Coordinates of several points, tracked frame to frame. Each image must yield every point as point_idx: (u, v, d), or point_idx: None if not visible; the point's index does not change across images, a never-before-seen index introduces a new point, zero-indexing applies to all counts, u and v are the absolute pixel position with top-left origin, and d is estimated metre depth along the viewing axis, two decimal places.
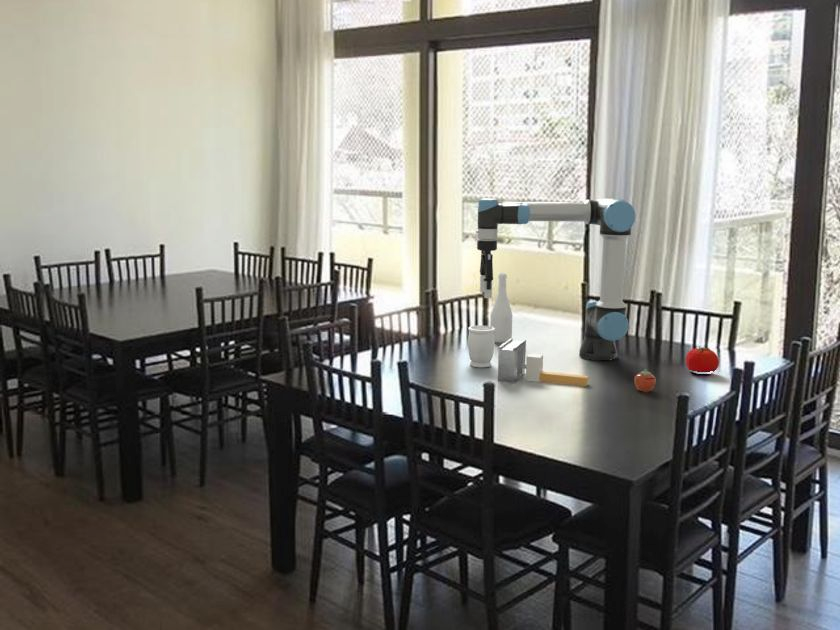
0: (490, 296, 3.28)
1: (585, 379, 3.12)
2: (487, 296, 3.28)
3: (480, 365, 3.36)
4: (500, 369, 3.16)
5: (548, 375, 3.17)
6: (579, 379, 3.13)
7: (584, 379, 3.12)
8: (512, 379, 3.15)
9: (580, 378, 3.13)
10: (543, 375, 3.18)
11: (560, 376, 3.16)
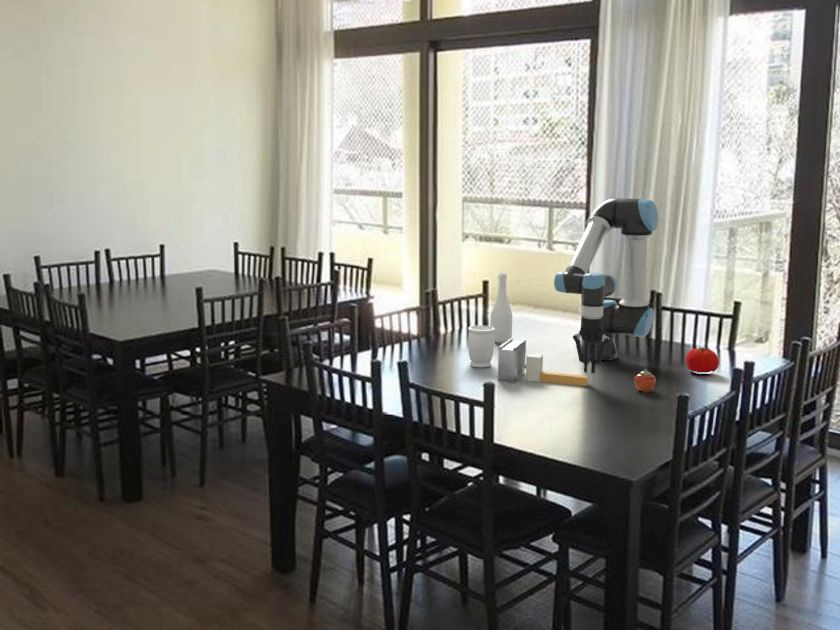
0: None
1: (585, 379, 3.12)
2: None
3: (480, 365, 3.36)
4: (500, 369, 3.16)
5: (548, 375, 3.17)
6: (579, 379, 3.13)
7: (584, 379, 3.12)
8: (512, 379, 3.15)
9: (580, 378, 3.13)
10: (543, 375, 3.18)
11: (560, 376, 3.16)
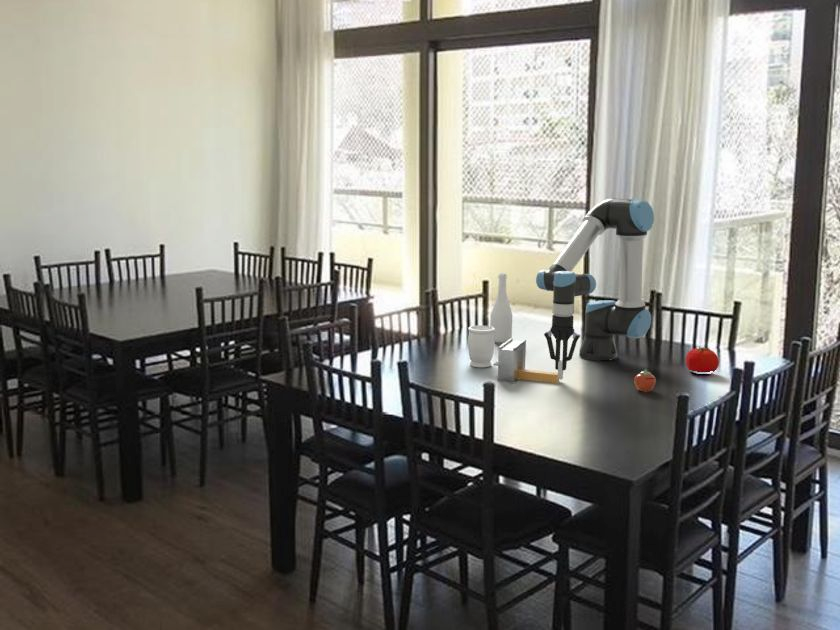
0: None
1: (556, 376, 3.16)
2: None
3: (480, 365, 3.36)
4: (500, 369, 3.16)
5: (520, 372, 3.21)
6: (550, 376, 3.17)
7: (555, 376, 3.16)
8: (512, 379, 3.15)
9: (551, 375, 3.17)
10: None
11: (532, 373, 3.19)
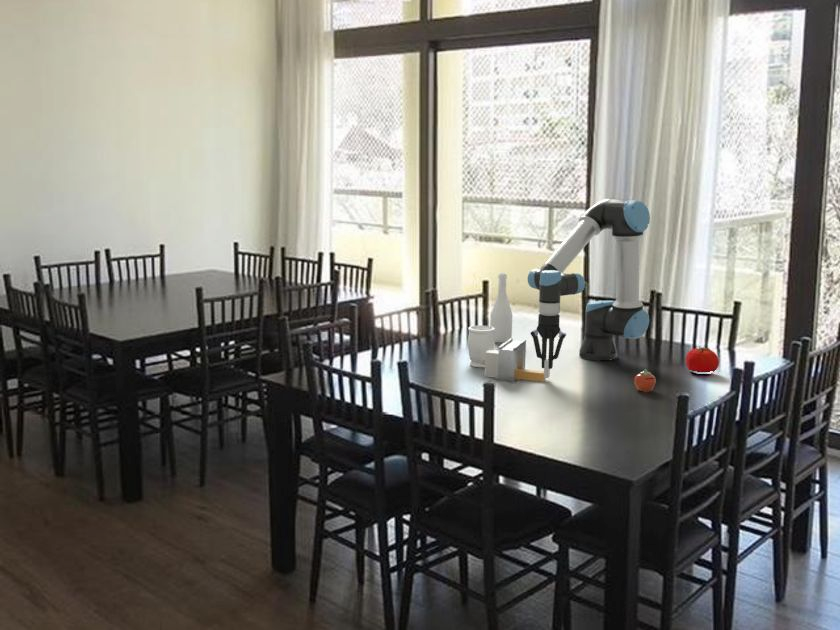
0: None
1: (542, 374, 3.18)
2: None
3: (480, 365, 3.36)
4: (500, 369, 3.16)
5: None
6: (536, 374, 3.19)
7: (541, 374, 3.18)
8: (512, 379, 3.15)
9: (537, 373, 3.18)
10: None
11: (518, 372, 3.21)
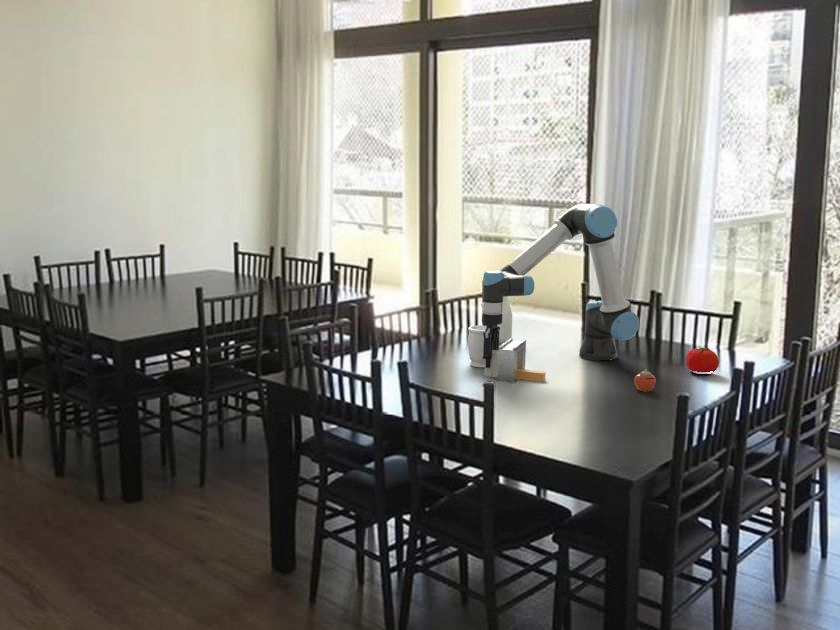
0: (490, 374, 3.23)
1: (542, 374, 3.18)
2: (487, 374, 3.24)
3: (480, 365, 3.36)
4: (500, 369, 3.16)
5: None
6: (536, 374, 3.19)
7: (541, 374, 3.18)
8: (512, 379, 3.15)
9: (537, 373, 3.18)
10: None
11: (518, 372, 3.21)
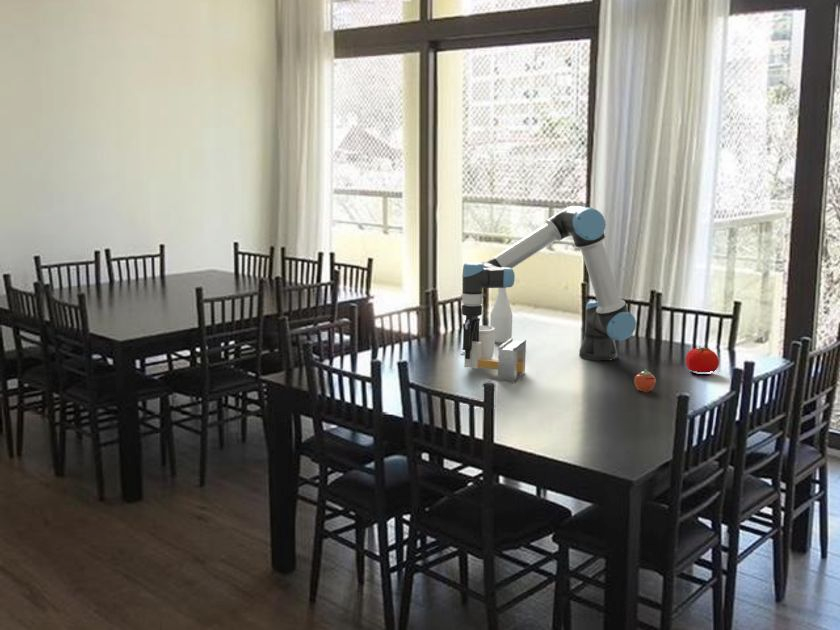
0: (470, 365, 3.26)
1: (521, 365, 3.20)
2: (467, 365, 3.26)
3: None
4: (500, 369, 3.16)
5: (486, 362, 3.25)
6: None
7: (520, 365, 3.20)
8: (512, 379, 3.15)
9: None
10: (482, 362, 3.26)
11: (497, 363, 3.23)
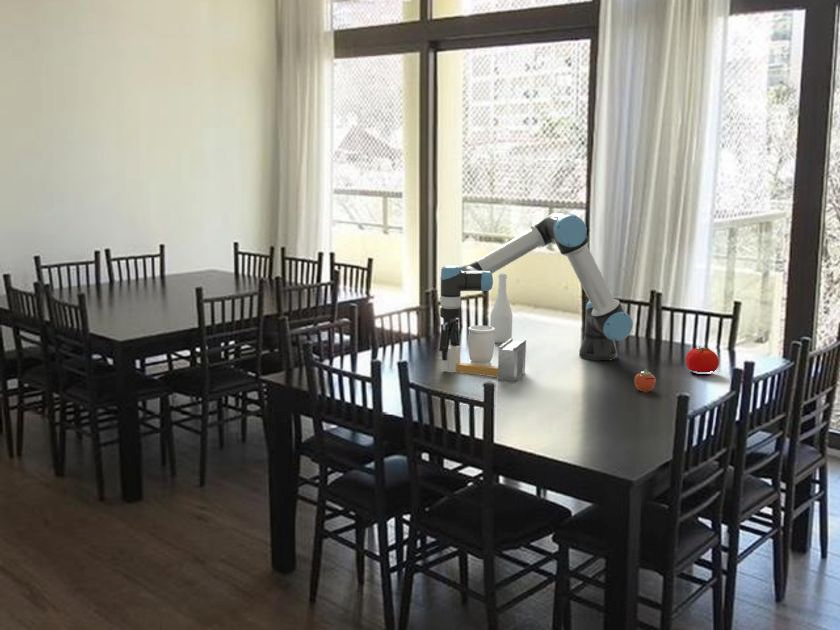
0: (446, 367, 3.27)
1: None
2: (444, 366, 3.28)
3: None
4: (500, 369, 3.16)
5: (464, 366, 3.29)
6: (493, 370, 3.25)
7: None
8: (512, 379, 3.15)
9: (494, 369, 3.24)
10: (460, 367, 3.29)
11: (475, 367, 3.27)
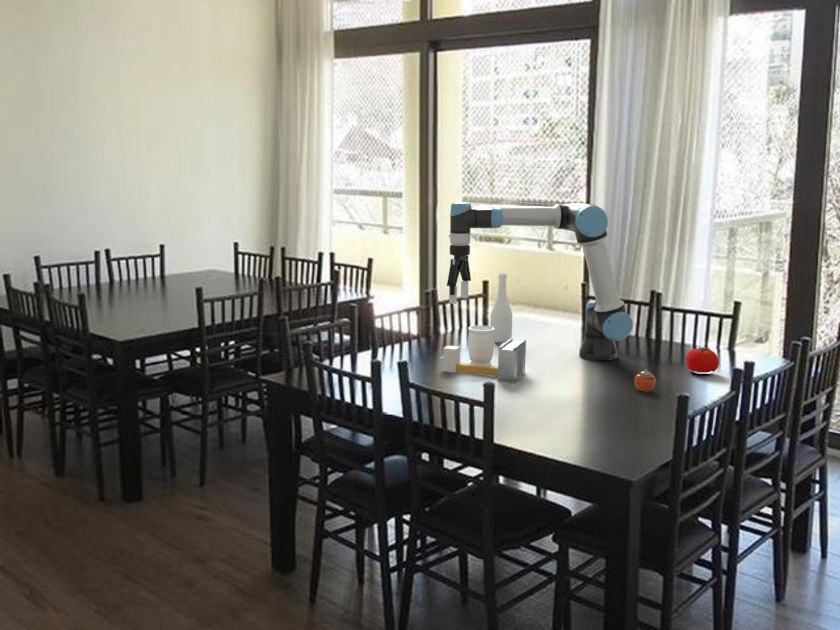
0: (454, 302, 3.21)
1: None
2: (451, 302, 3.22)
3: None
4: (500, 369, 3.16)
5: (464, 366, 3.29)
6: (493, 370, 3.25)
7: None
8: (512, 379, 3.15)
9: (494, 369, 3.24)
10: (460, 367, 3.29)
11: (475, 367, 3.27)
